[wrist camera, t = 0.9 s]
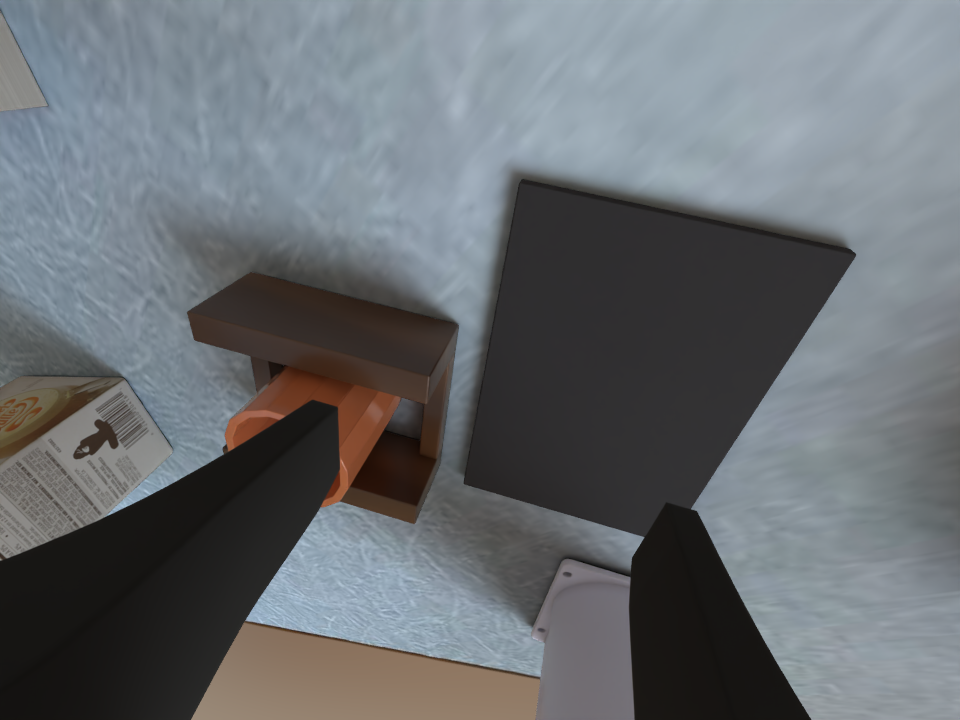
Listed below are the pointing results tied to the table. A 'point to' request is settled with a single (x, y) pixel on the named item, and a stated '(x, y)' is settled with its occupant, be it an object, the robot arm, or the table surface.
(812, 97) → the table surface
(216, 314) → the stand
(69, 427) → the coffee box
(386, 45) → the table surface
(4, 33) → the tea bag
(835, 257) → the mat
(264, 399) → the cup
